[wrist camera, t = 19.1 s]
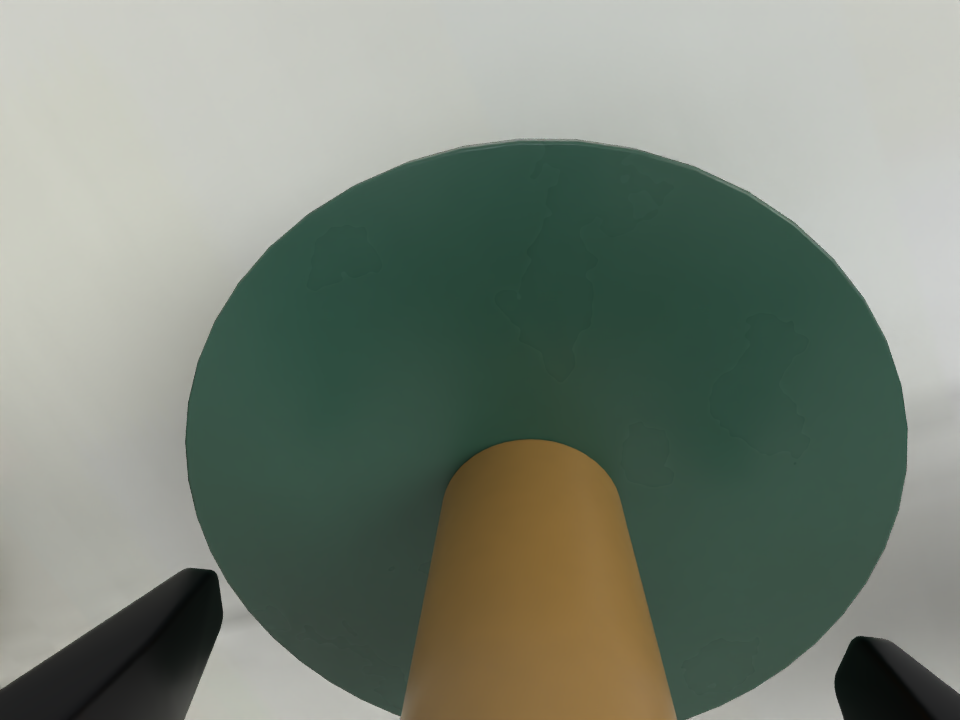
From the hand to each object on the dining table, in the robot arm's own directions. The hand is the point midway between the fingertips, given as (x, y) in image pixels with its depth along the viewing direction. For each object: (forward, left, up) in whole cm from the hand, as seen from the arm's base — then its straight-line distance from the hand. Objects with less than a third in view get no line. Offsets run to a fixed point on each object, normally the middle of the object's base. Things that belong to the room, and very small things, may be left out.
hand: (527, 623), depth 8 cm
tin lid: (0, 0, -3) cm, 3 cm away
